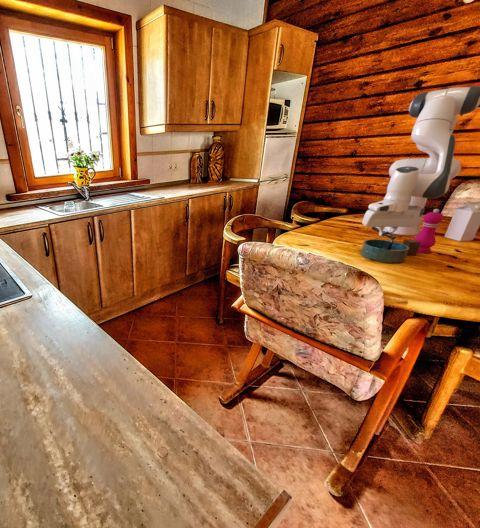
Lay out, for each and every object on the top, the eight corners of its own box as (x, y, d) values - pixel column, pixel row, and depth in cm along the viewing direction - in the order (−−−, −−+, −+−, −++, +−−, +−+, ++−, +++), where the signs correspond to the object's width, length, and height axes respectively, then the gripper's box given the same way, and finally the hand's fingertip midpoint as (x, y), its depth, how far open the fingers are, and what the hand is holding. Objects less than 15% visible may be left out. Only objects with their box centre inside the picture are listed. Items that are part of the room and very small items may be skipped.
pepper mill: (422, 248, 133) (438, 206, 125) (435, 253, 126) (454, 210, 118) (405, 248, 134) (420, 207, 126) (418, 253, 127) (435, 210, 119)
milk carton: (443, 237, 145) (459, 200, 137) (456, 236, 145) (472, 200, 138) (459, 241, 138) (476, 203, 131) (472, 240, 139) (490, 202, 131)
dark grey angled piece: (362, 241, 139) (367, 226, 136) (373, 242, 138) (378, 226, 135) (385, 254, 124) (391, 237, 121) (397, 254, 123) (404, 237, 120)
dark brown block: (399, 252, 130) (404, 239, 127) (409, 252, 129) (414, 239, 126) (405, 255, 126) (410, 242, 123) (415, 255, 125) (421, 242, 123)
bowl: (353, 251, 134) (356, 239, 132) (389, 251, 131) (393, 239, 129) (372, 263, 120) (377, 250, 118) (413, 264, 117) (418, 251, 115)
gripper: (416, 203, 123) (406, 233, 129) (364, 204, 127) (356, 233, 132) (428, 206, 117) (416, 237, 123) (373, 207, 121) (364, 237, 127)
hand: (385, 235), depth 128 cm, fingers closed on dark grey angled piece
